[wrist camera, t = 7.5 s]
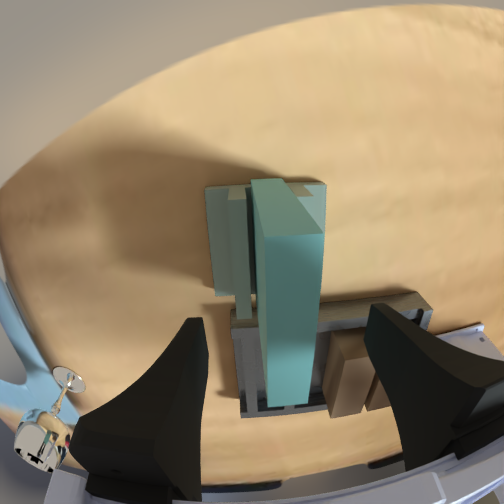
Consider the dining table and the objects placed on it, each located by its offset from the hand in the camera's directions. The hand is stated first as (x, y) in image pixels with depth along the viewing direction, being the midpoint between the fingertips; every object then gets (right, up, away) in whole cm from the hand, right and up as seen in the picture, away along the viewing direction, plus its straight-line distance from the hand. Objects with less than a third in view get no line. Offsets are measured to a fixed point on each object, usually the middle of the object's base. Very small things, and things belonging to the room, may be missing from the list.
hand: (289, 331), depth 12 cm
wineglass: (-23, -11, +16) cm, 30 cm away
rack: (+5, -6, +15) cm, 17 cm away
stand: (-1, +4, +9) cm, 10 cm away
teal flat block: (0, +4, +9) cm, 9 cm away
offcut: (+7, -7, +14) cm, 17 cm away
